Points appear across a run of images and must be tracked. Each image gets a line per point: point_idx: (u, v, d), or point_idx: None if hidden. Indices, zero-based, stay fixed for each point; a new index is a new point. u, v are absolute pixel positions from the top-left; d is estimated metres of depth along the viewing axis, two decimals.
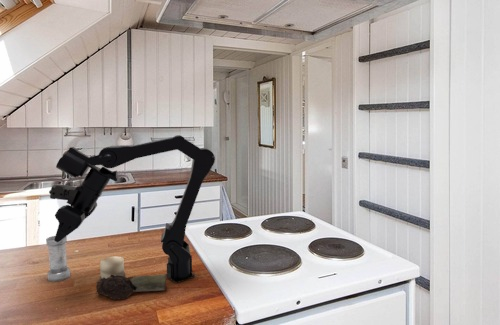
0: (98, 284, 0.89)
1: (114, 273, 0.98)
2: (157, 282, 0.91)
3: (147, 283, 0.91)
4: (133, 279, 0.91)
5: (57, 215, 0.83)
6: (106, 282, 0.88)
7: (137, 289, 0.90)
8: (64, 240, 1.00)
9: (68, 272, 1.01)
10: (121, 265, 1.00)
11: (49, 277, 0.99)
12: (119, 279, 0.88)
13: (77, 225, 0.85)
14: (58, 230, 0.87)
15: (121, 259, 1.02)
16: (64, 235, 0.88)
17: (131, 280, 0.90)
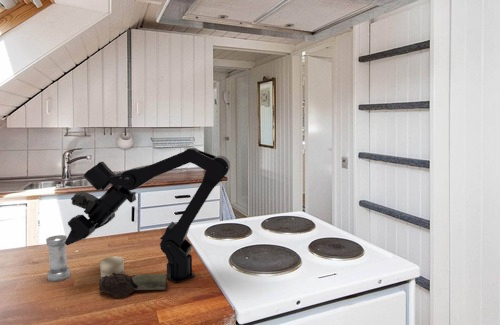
0: (100, 282, 0.90)
1: None
2: (158, 281, 0.92)
3: (148, 281, 0.91)
4: (134, 277, 0.92)
5: (69, 223, 0.90)
6: (108, 280, 0.89)
7: (138, 287, 0.91)
8: (64, 240, 1.00)
9: (68, 272, 1.01)
10: (121, 265, 1.00)
11: (49, 277, 0.99)
12: (120, 277, 0.89)
13: (84, 237, 0.91)
14: (69, 235, 0.94)
15: (121, 259, 1.02)
16: (73, 241, 0.95)
17: (132, 278, 0.91)
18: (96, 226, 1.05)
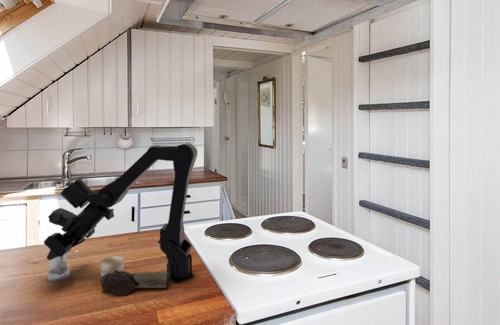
0: (102, 279, 0.92)
1: None
2: (159, 279, 0.93)
3: (149, 279, 0.92)
4: (136, 275, 0.93)
5: (45, 242, 0.91)
6: (109, 277, 0.90)
7: (139, 285, 0.92)
8: None
9: (68, 272, 1.01)
10: (121, 265, 1.00)
11: (49, 277, 0.99)
12: (122, 275, 0.91)
13: (60, 255, 0.91)
14: (51, 250, 0.97)
15: (121, 259, 1.02)
16: (55, 256, 0.97)
17: (134, 276, 0.93)
18: (72, 245, 1.03)
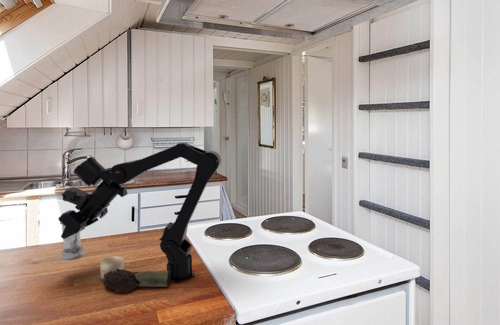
0: (104, 277, 0.93)
1: None
2: (159, 278, 0.93)
3: (150, 278, 0.93)
4: (137, 274, 0.94)
5: (60, 219, 0.90)
6: (111, 275, 0.91)
7: (140, 284, 0.93)
8: None
9: (82, 251, 1.01)
10: (121, 265, 1.00)
11: (63, 256, 0.98)
12: (123, 273, 0.92)
13: (75, 232, 0.91)
14: (65, 229, 0.96)
15: (121, 259, 1.02)
16: (69, 234, 0.96)
17: (135, 275, 0.94)
18: (85, 224, 1.02)
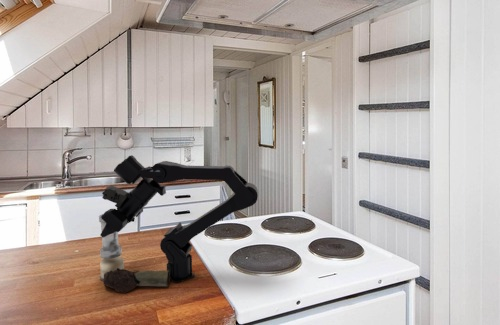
0: (105, 276, 0.93)
1: None
2: (159, 278, 0.93)
3: (150, 278, 0.93)
4: (137, 273, 0.94)
5: (103, 217, 0.90)
6: (111, 275, 0.92)
7: (140, 283, 0.93)
8: None
9: (120, 250, 1.01)
10: (121, 265, 1.00)
11: (102, 254, 0.98)
12: (123, 273, 0.92)
13: (117, 230, 0.91)
14: (105, 227, 0.96)
15: (121, 259, 1.02)
16: (109, 233, 0.96)
17: (135, 274, 0.94)
18: None
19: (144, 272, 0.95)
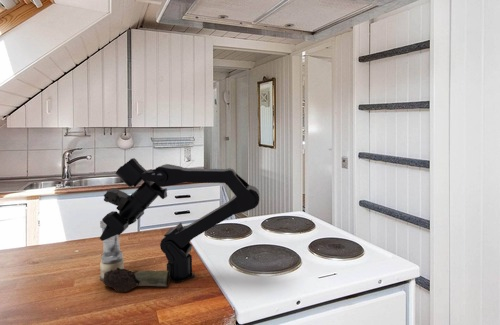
0: (105, 276, 0.94)
1: None
2: (159, 278, 0.94)
3: (150, 278, 0.93)
4: (137, 273, 0.94)
5: (104, 220, 0.90)
6: (111, 274, 0.92)
7: (140, 283, 0.94)
8: None
9: (121, 255, 1.01)
10: (121, 265, 1.00)
11: (104, 260, 0.98)
12: (123, 272, 0.92)
13: (119, 233, 0.91)
14: (104, 230, 0.95)
15: None
16: (108, 236, 0.96)
17: (135, 274, 0.94)
18: None
19: (144, 272, 0.95)
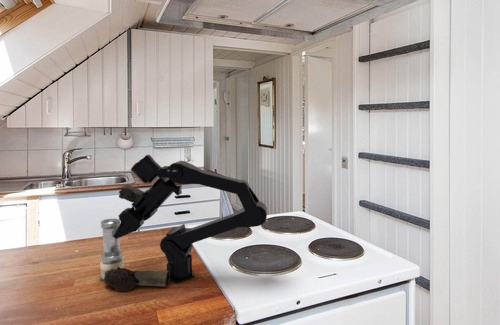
0: (105, 275, 0.94)
1: None
2: (158, 278, 0.94)
3: (149, 277, 0.94)
4: (137, 273, 0.95)
5: (120, 216, 0.90)
6: (111, 273, 0.93)
7: (140, 283, 0.94)
8: (118, 223, 0.99)
9: (121, 255, 1.01)
10: (121, 265, 1.00)
11: (104, 260, 0.98)
12: (123, 272, 0.93)
13: (135, 229, 0.91)
14: (118, 228, 0.94)
15: None
16: (122, 234, 0.94)
17: (135, 274, 0.94)
18: None
19: (144, 272, 0.95)
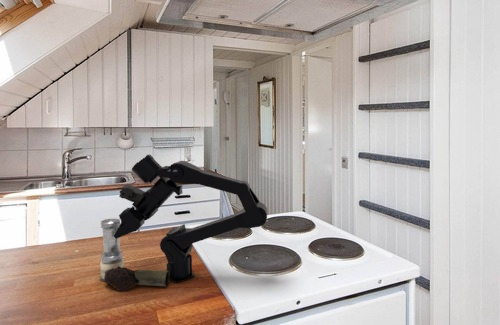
0: (106, 274, 0.95)
1: None
2: (158, 278, 0.94)
3: (149, 277, 0.94)
4: (137, 272, 0.95)
5: (121, 216, 0.90)
6: (111, 273, 0.93)
7: (139, 282, 0.94)
8: (118, 223, 0.99)
9: (121, 255, 1.01)
10: (121, 265, 1.00)
11: (104, 260, 0.98)
12: (123, 271, 0.93)
13: (135, 229, 0.91)
14: (119, 228, 0.94)
15: None
16: (123, 234, 0.94)
17: (135, 273, 0.95)
18: None
19: (144, 271, 0.95)
